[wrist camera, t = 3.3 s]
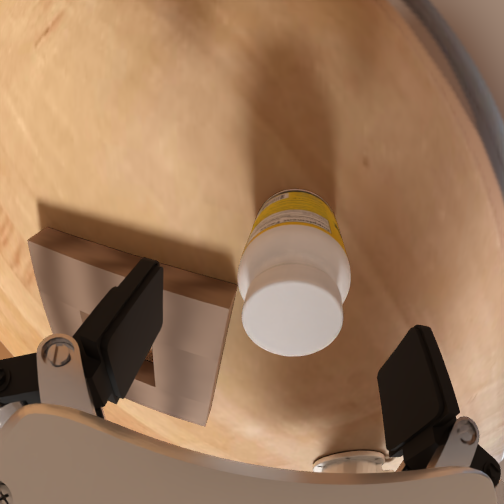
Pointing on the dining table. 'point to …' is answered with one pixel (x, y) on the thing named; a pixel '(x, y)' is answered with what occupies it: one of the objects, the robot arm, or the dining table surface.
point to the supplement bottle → (294, 275)
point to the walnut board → (173, 328)
